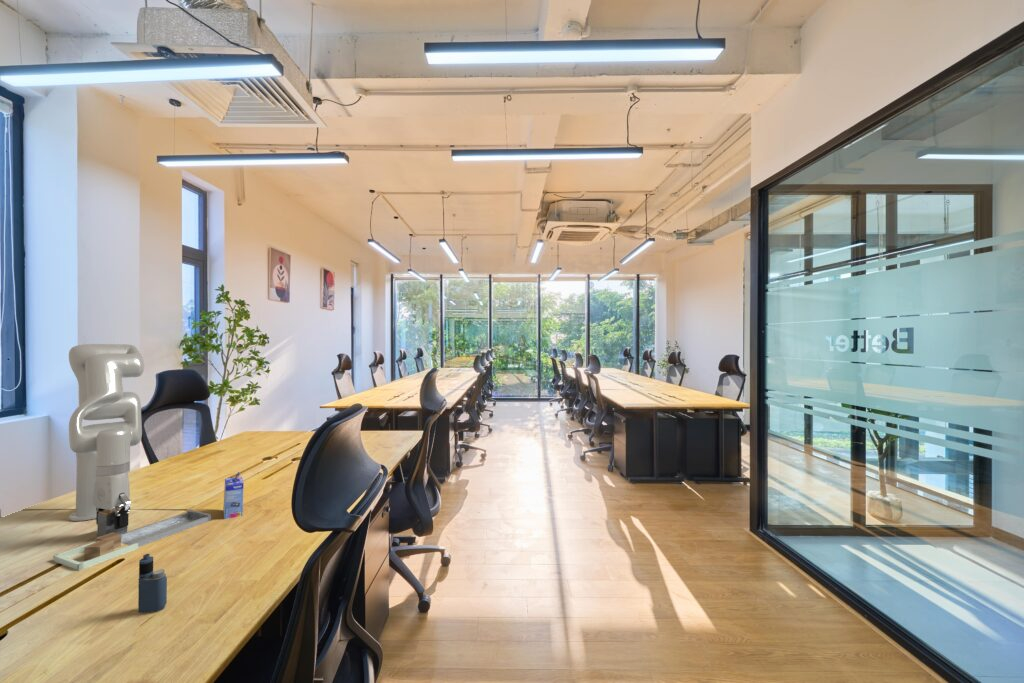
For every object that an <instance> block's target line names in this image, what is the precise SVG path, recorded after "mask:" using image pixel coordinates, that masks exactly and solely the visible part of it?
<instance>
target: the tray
mask: <svg viewBox="0 0 1024 683" xmlns="http://www.w3.org/2000/svg"><path fill="white" fill-rule="evenodd" d="M93 543H95V541H93V542H91V543H88V544H85V545H81V546H78V547H75V548H72V549H70V550H69V549H68V550H65V551H63V552H60V553H57V554H54V555H52V558H53V559H52V561H53V562H54V563H56V564H57V563H58V564H60V565H63V566H65V567H69V568H71V569H74V570H75V571H76V570H77V571H81V570H84V569H87V568H90V567H93V566H95V565H97V564H101V563H103V562H106V561H108V560H111V559H114V558H116V557H119V556H122V555H124V554H127V553H130V552H133V551H136V550H138V548H139V547H138V543H135V544H132V545H127V546H124V547H122V548H118V549H116V550H114V551H113V552H110V553H107V554H104V555H102V556H99V557H96V558H93V559H91V560H84V561H83V562H81V561H78V560H75V559H72V558H69V557H72V556H75V555H79V554H81V553H83V552H84V547H87V546H89V545H91V544H93Z"/></svg>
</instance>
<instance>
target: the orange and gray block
mask: <svg viewBox="0 0 1024 683" xmlns="http://www.w3.org/2000/svg"><path fill="white" fill-rule="evenodd" d="M118 509H119V511H120V509H121V508H118ZM114 516H116V514H115V511H114V509H113V508H112V510H103V511H99V513H98V524H96V526H97V528H96V531H97V532H96V535H97V537H100V536H103V535H106V534H109V533H113V532H114V533H118V534H123V533H126V532H128V526H126V527H123V528H120V529H117V530H115V529H114ZM97 537H96V538H97Z"/></svg>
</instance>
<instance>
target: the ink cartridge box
mask: <svg viewBox="0 0 1024 683" xmlns="http://www.w3.org/2000/svg"><path fill="white" fill-rule="evenodd" d="M240 474H241V473H240V472H239V471H238V472H237V474H236V475H235V477H228V478H225V479H224V490H223V492H224V494H223V510H222V511H223V512H222V513H223V519H224V520H227V519H232V518H238V517H242V516H243V513H244V512H243V509H244V507H243V506H244V484H245V483H244V480H243V476H240Z"/></svg>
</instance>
